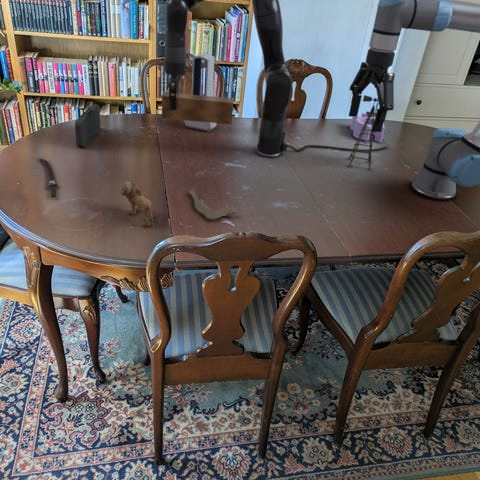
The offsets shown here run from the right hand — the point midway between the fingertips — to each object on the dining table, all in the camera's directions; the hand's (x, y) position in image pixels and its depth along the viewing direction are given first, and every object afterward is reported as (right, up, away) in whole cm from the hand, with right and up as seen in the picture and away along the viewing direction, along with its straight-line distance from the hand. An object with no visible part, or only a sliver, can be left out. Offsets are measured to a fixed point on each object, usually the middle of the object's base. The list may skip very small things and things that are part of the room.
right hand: (364, 123), depth 142 cm
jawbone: (-47, -25, +4) cm, 53 cm away
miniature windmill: (+10, -5, +43) cm, 45 cm away
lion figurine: (-67, -29, -6) cm, 73 cm away
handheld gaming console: (-97, +5, +41) cm, 105 cm away
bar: (-54, +10, +32) cm, 63 cm away
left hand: (-62, +13, +29) cm, 70 cm away
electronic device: (-55, +13, +61) cm, 83 cm away
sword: (-100, -15, +9) cm, 102 cm away
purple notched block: (+20, +13, +74) cm, 78 cm away
